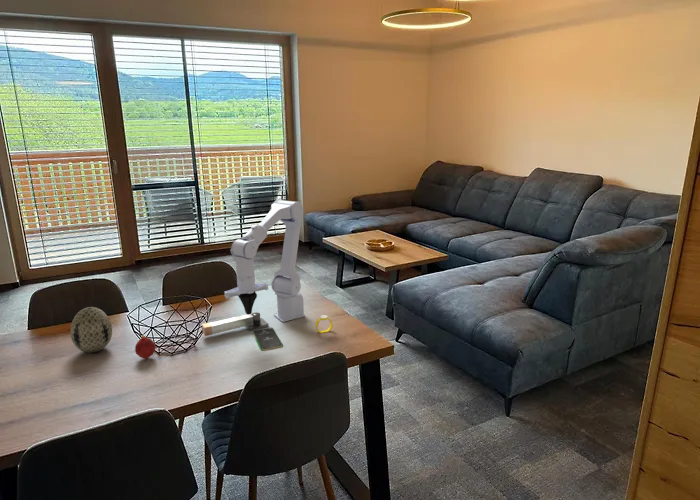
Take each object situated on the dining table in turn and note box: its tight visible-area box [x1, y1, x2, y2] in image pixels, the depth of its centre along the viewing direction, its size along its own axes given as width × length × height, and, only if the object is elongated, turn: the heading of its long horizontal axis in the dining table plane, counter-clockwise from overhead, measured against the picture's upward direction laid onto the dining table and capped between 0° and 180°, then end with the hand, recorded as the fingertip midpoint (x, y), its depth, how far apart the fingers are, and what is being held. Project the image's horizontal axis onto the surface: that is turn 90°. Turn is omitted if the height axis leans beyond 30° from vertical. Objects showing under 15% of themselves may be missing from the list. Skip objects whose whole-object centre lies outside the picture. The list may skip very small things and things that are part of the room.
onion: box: [134, 334, 156, 360], centre depth 147 cm, size 6×6×8 cm
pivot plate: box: [245, 317, 270, 332], centre depth 170 cm, size 7×6×1 cm
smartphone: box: [252, 327, 284, 351], centre depth 160 cm, size 8×1×15 cm
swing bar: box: [201, 312, 261, 337], centre depth 165 cm, size 3×20×3 cm, turn 121°
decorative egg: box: [70, 306, 113, 354], centre depth 151 cm, size 12×12×15 cm
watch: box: [314, 314, 334, 334], centre depth 165 cm, size 6×3×6 cm, turn 112°
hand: (248, 313), depth 158 cm, fingers closed
